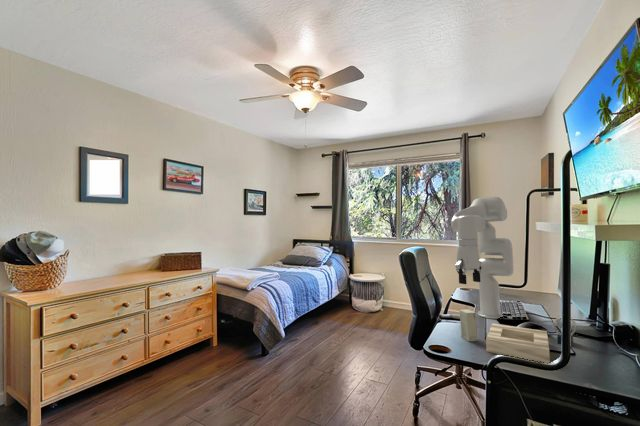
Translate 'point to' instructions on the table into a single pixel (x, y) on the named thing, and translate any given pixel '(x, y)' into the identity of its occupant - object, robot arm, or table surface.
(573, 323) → the watch
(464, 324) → the skincare box
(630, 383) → the table surface
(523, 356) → the organizer
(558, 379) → the table surface
